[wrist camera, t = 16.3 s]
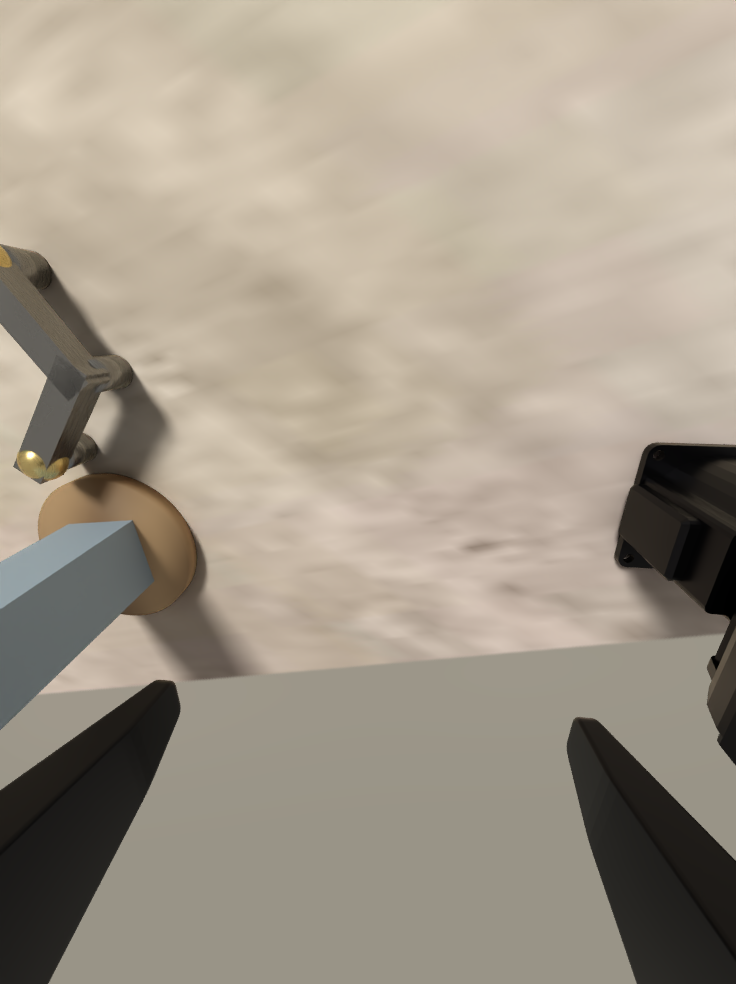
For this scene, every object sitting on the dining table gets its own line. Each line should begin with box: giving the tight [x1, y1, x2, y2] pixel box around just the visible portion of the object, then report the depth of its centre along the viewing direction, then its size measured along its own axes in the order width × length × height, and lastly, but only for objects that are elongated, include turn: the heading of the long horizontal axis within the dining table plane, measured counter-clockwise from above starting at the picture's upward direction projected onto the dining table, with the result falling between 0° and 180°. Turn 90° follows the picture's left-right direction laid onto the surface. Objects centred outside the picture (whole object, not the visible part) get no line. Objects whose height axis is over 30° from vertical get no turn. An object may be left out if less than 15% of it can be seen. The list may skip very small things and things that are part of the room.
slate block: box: [0, 520, 154, 730], centre depth 17 cm, size 4×4×12 cm
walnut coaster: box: [38, 473, 197, 615], centre depth 23 cm, size 9×9×1 cm
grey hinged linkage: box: [0, 244, 133, 484], centre depth 18 cm, size 5×10×4 cm, turn 0°
